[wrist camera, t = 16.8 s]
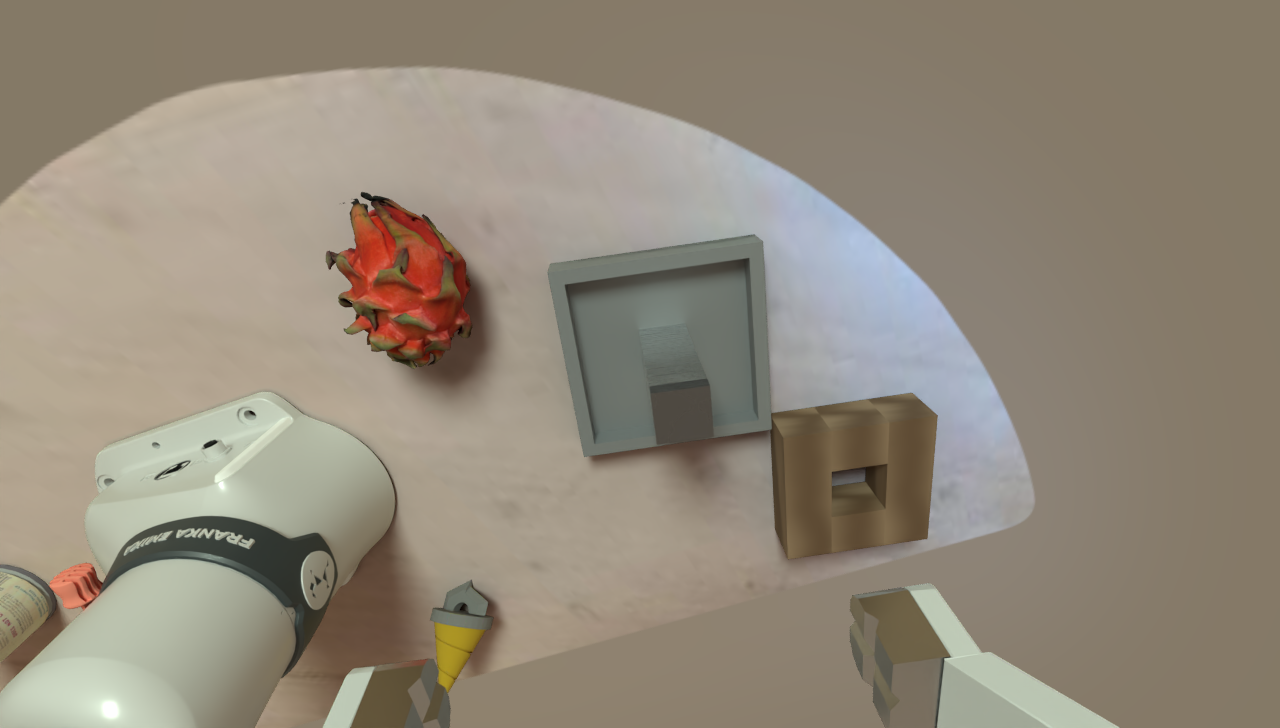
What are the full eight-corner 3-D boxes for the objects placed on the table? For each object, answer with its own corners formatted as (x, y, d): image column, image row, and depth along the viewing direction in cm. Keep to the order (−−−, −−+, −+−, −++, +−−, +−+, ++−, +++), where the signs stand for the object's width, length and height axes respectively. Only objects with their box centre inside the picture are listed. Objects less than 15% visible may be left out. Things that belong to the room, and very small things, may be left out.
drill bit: (512, 586, 55) (484, 707, 51) (466, 577, 57) (436, 693, 53) (478, 581, 50) (445, 713, 47) (429, 572, 52) (394, 698, 49)
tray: (584, 440, 49) (584, 456, 46) (550, 263, 43) (547, 272, 40) (763, 414, 49) (771, 429, 46) (754, 234, 43) (763, 241, 40)
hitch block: (775, 528, 54) (788, 559, 50) (769, 413, 49) (783, 438, 45) (904, 509, 54) (927, 538, 50) (912, 392, 49) (937, 415, 45)
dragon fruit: (446, 349, 46) (396, 195, 43) (519, 344, 41) (469, 169, 38) (345, 389, 40) (279, 211, 37) (418, 389, 35) (348, 183, 32)
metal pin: (644, 371, 46) (656, 445, 36) (638, 329, 44) (650, 393, 34) (688, 365, 46) (714, 437, 36) (684, 323, 44) (710, 385, 34)
